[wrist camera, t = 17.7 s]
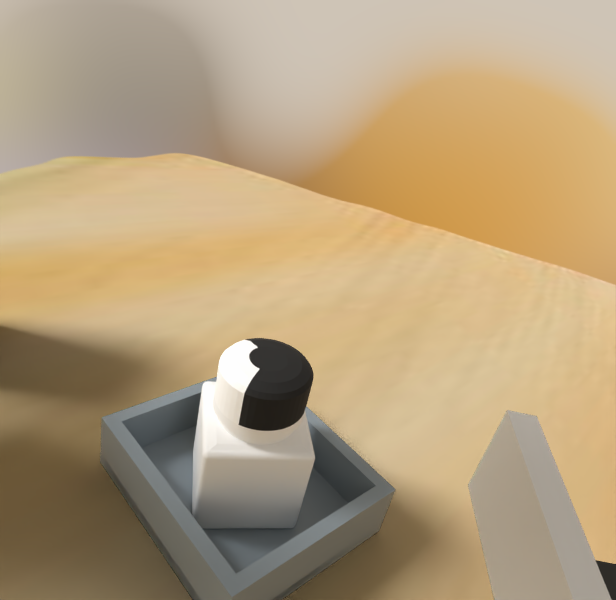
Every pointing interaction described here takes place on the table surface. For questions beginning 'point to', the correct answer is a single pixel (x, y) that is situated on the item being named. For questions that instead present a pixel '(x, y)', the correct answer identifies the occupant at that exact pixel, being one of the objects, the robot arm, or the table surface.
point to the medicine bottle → (253, 438)
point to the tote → (237, 541)
